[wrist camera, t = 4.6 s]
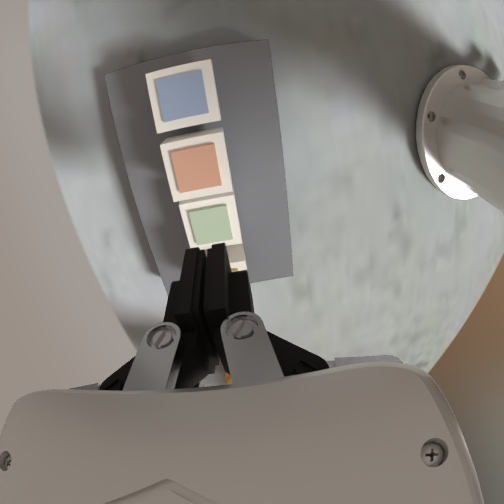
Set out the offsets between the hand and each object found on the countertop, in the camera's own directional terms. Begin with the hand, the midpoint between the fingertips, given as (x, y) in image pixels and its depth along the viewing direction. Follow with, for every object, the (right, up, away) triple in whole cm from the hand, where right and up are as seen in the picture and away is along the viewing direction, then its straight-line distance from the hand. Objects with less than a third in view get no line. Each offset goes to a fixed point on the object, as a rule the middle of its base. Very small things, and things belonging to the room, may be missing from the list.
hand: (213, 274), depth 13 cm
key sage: (-1, +4, +8) cm, 9 cm away
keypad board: (-1, +6, +7) cm, 10 cm away
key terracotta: (-2, +7, +5) cm, 9 cm away
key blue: (-2, +10, +3) cm, 11 cm away
